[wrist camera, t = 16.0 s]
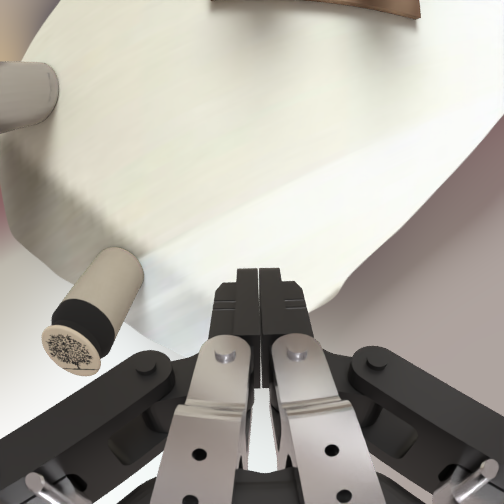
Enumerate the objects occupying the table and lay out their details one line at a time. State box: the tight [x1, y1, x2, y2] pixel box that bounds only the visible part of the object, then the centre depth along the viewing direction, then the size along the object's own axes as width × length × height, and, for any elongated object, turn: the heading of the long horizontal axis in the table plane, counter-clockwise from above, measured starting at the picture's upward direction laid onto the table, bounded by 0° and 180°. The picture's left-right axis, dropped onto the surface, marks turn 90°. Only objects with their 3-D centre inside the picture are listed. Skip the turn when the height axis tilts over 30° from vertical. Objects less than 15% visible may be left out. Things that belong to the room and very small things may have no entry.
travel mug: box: [42, 247, 144, 376], centre depth 37 cm, size 8×8×18 cm
